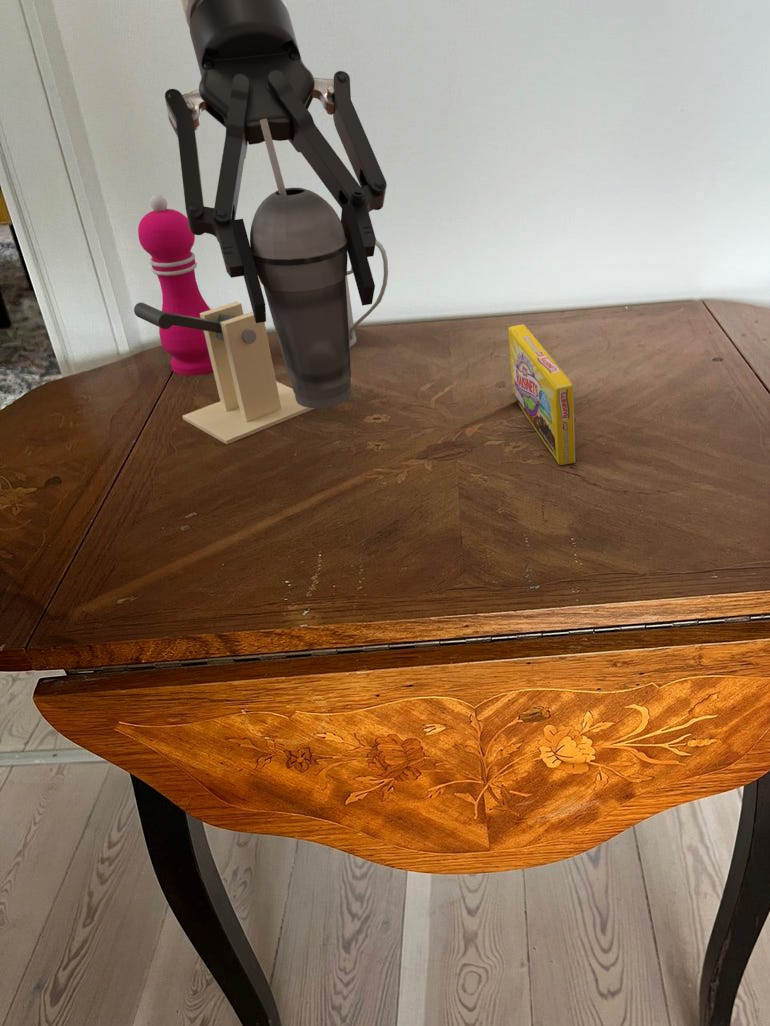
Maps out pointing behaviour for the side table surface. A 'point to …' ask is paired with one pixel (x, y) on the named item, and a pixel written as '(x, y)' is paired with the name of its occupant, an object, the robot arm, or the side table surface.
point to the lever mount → (242, 380)
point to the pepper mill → (176, 284)
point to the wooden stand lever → (179, 319)
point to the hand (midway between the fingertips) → (315, 304)
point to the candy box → (543, 393)
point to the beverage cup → (305, 287)
